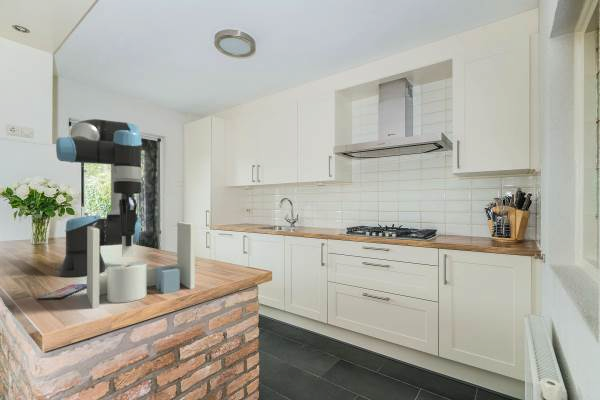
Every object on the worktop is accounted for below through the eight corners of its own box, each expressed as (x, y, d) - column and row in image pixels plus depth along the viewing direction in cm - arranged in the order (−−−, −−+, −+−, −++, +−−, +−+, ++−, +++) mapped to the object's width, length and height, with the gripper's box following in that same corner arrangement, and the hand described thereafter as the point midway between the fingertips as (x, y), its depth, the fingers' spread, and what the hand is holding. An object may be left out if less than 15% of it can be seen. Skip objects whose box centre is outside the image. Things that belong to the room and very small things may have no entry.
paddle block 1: (156, 288, 103) (156, 267, 103) (171, 285, 106) (171, 265, 106) (158, 290, 100) (158, 269, 100) (173, 287, 104) (174, 267, 104)
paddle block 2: (160, 291, 98) (161, 270, 98) (176, 288, 102) (176, 268, 102) (163, 294, 96) (163, 272, 96) (179, 291, 99) (179, 270, 99)
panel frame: (86, 295, 94) (86, 226, 94) (180, 279, 113) (180, 221, 113) (92, 308, 83) (93, 229, 83) (194, 288, 102) (195, 224, 102)
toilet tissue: (106, 305, 85) (106, 270, 85) (107, 294, 96) (107, 263, 96) (148, 299, 91) (148, 266, 91) (144, 289, 101) (144, 259, 101)
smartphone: (35, 298, 90) (71, 284, 105) (35, 301, 90) (71, 287, 105) (61, 297, 90) (93, 283, 105) (61, 300, 90) (93, 286, 105)
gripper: (109, 181, 96) (109, 254, 96) (117, 179, 86) (117, 261, 86) (135, 182, 101) (135, 252, 101) (146, 180, 91) (146, 257, 91)
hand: (127, 256), depth 93 cm, fingers closed
